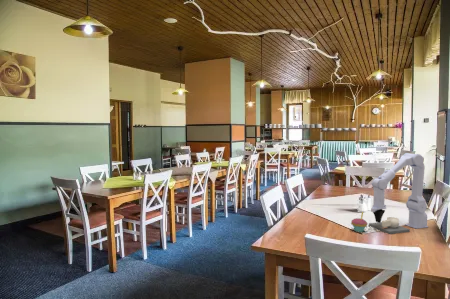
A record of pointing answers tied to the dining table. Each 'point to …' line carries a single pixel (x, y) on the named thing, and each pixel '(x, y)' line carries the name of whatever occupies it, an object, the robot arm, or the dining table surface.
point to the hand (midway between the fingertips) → (378, 222)
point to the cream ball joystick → (390, 222)
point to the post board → (389, 228)
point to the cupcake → (359, 224)
